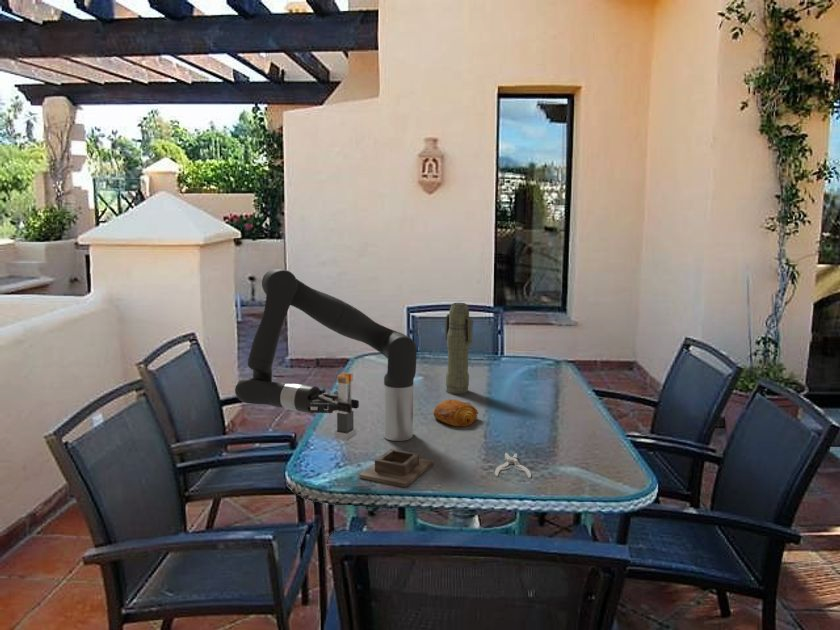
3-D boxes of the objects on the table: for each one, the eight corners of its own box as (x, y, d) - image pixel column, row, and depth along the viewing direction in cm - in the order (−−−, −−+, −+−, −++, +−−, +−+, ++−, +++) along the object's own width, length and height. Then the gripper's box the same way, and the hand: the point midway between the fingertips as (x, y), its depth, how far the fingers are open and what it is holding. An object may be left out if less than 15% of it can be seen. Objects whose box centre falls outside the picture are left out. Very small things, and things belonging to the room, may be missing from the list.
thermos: (465, 396, 265) (467, 306, 259) (438, 391, 271) (440, 303, 265) (475, 391, 272) (478, 303, 266) (449, 386, 278) (451, 300, 272)
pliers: (495, 472, 189) (494, 452, 204) (495, 477, 189) (493, 457, 204) (531, 473, 188) (527, 453, 203) (531, 479, 189) (527, 458, 203)
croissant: (451, 436, 227) (453, 414, 225) (426, 416, 240) (427, 395, 237) (486, 428, 235) (488, 406, 232) (460, 409, 247) (461, 389, 245)
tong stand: (389, 455, 203) (389, 442, 202) (433, 464, 197) (433, 450, 197) (359, 477, 187) (359, 463, 186) (405, 487, 181) (406, 473, 180)
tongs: (343, 432, 191) (343, 371, 188) (356, 435, 189) (356, 373, 186) (334, 438, 186) (333, 375, 183) (347, 440, 185) (346, 377, 182)
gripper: (285, 391, 185) (341, 399, 178) (314, 378, 198) (367, 386, 191) (286, 418, 186) (341, 427, 179) (314, 404, 199) (367, 412, 192)
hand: (354, 406), depth 185 cm, fingers closed on tongs, 3 cm apart
